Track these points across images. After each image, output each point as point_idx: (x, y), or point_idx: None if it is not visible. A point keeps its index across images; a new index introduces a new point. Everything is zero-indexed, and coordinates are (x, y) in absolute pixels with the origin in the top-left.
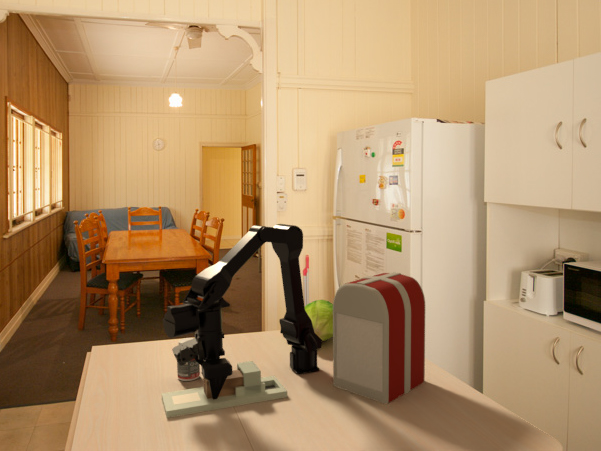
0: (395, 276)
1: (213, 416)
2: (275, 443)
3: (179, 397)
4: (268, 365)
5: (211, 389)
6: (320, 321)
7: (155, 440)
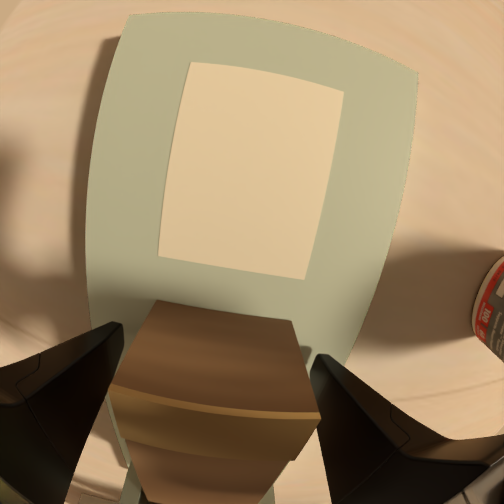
0: None
1: (49, 259)
2: None
3: (295, 130)
4: None
5: (52, 350)
6: None
7: (23, 15)
